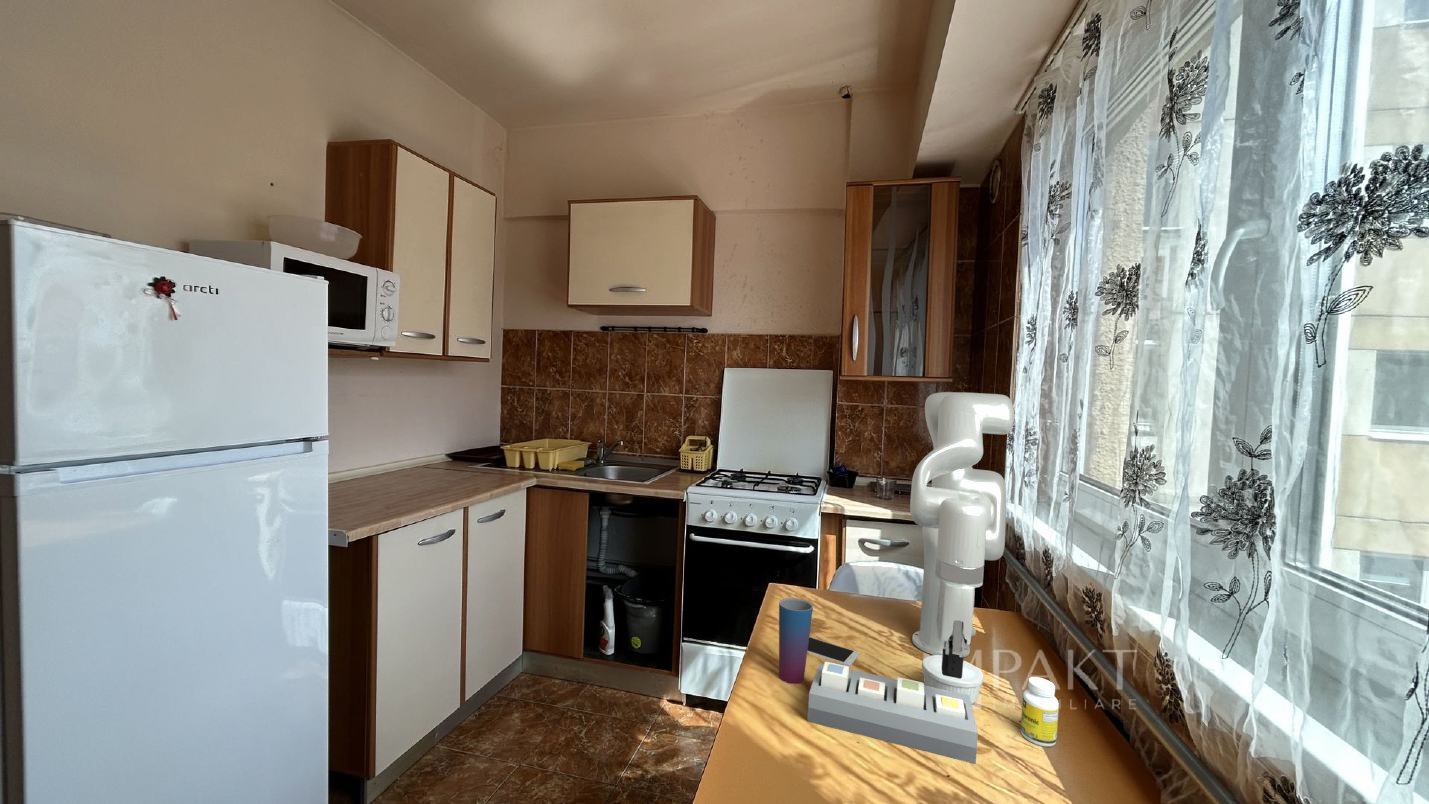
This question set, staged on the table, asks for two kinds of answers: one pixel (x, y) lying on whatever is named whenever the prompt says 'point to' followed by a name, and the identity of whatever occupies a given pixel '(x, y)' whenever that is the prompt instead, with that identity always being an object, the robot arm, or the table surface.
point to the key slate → (835, 676)
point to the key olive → (910, 693)
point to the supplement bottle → (1040, 712)
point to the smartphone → (832, 651)
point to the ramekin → (965, 685)
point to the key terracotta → (871, 688)
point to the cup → (793, 638)
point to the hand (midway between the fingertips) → (951, 674)
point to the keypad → (895, 717)
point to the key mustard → (949, 706)
